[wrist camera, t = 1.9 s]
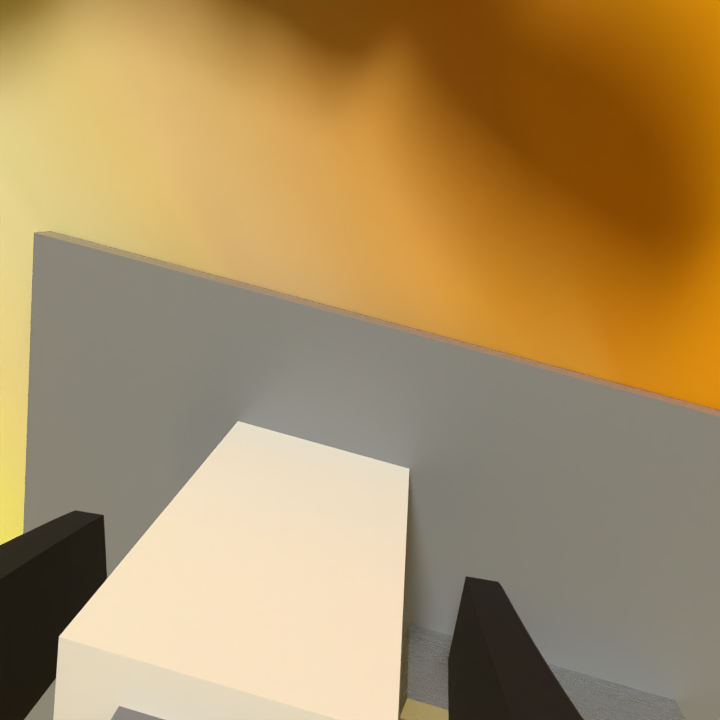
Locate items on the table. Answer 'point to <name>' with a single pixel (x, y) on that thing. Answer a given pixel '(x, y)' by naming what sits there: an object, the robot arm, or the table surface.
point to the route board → (390, 454)
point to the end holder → (588, 694)
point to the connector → (252, 595)
